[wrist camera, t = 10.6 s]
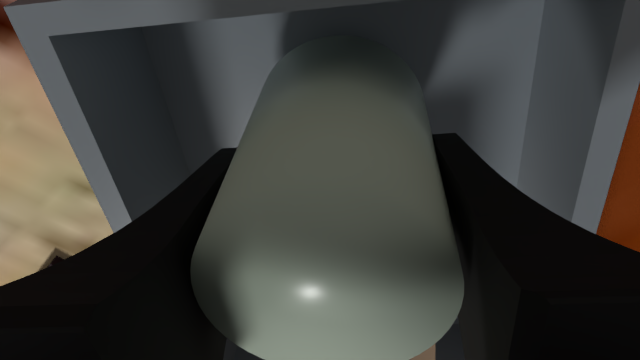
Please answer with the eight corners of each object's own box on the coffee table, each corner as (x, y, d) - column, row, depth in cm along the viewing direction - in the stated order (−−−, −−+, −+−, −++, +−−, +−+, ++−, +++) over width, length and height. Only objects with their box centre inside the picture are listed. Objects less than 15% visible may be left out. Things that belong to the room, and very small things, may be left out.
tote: (507, 321, 23) (539, 427, 19) (233, 327, 24) (208, 426, 20) (578, -99, 13) (682, -69, 9) (104, -42, 14) (3, 7, 10)
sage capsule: (439, 41, 13) (496, 198, 7) (411, 189, 16) (436, 384, 10) (256, 29, 13) (172, 172, 7) (262, 177, 16) (204, 362, 10)
